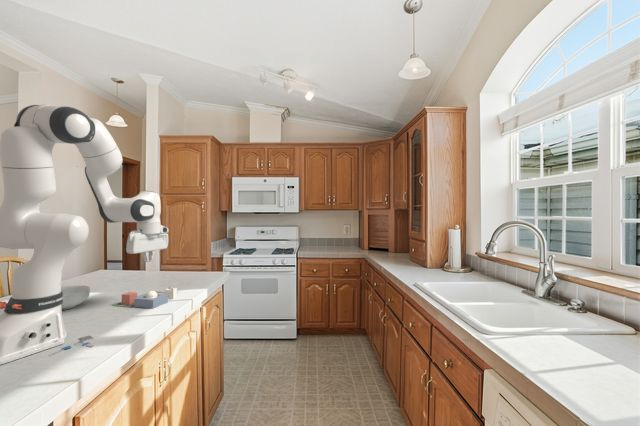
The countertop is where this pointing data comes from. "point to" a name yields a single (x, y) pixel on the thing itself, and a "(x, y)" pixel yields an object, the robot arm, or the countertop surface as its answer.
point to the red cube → (128, 298)
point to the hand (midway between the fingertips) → (148, 261)
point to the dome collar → (150, 301)
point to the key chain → (79, 344)
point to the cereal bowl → (74, 296)
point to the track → (137, 296)
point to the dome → (151, 294)
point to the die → (171, 292)
